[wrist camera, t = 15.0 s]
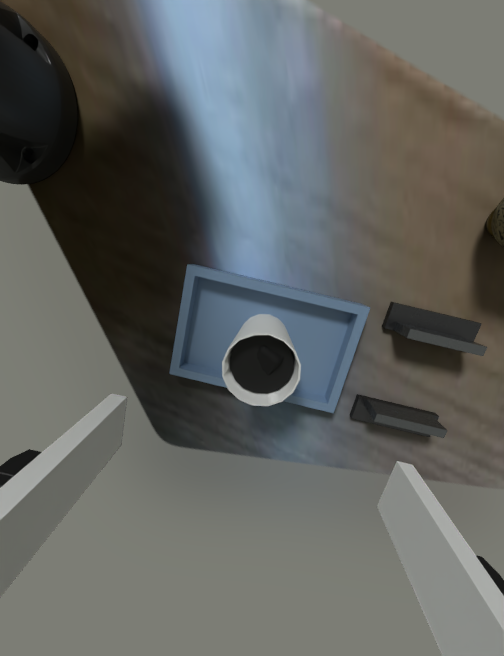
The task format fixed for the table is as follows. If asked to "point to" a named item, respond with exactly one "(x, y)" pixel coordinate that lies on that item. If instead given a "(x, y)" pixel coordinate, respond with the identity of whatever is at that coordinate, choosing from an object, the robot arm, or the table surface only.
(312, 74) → the table surface
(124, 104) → the table surface
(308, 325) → the tray
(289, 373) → the white tumbler
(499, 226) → the cup
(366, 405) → the bracket
